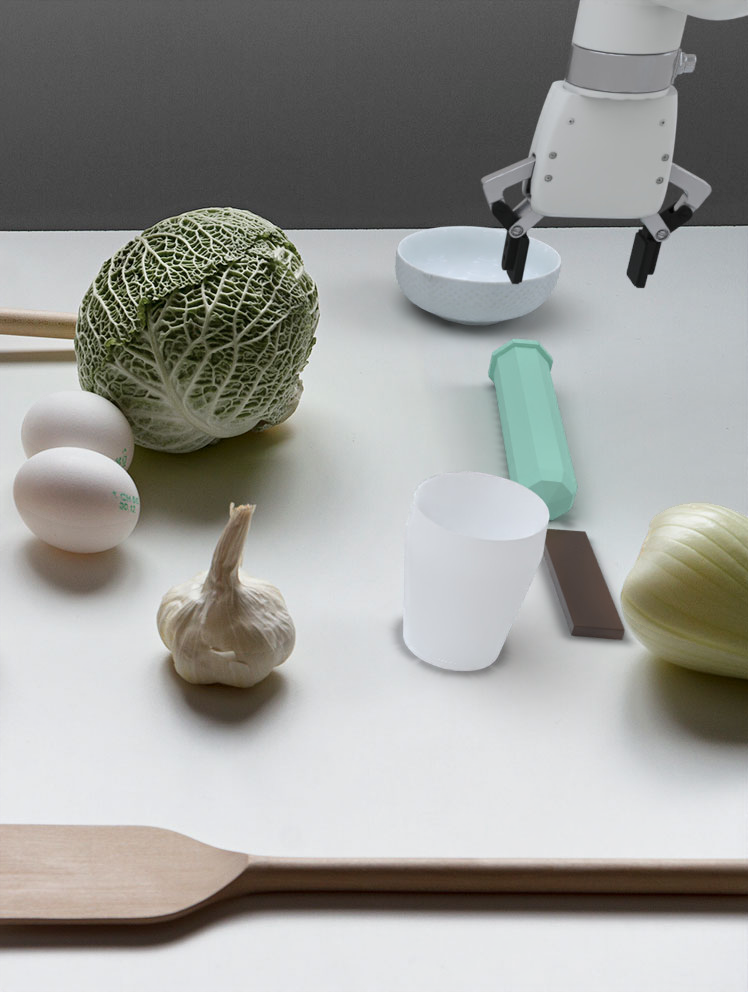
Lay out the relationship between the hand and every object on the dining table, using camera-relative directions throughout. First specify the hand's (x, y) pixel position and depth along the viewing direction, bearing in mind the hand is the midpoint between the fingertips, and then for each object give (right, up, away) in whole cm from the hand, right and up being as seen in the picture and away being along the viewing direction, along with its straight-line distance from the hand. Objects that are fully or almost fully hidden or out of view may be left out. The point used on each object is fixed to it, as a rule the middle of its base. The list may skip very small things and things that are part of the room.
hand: (573, 280), depth 108 cm
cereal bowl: (+4, +2, +35) cm, 35 cm away
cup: (-15, -29, -14) cm, 36 cm away
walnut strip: (-4, -25, -9) cm, 27 cm away
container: (0, -14, +9) cm, 17 cm away
